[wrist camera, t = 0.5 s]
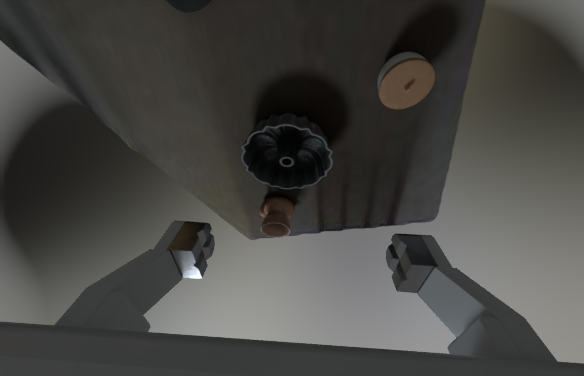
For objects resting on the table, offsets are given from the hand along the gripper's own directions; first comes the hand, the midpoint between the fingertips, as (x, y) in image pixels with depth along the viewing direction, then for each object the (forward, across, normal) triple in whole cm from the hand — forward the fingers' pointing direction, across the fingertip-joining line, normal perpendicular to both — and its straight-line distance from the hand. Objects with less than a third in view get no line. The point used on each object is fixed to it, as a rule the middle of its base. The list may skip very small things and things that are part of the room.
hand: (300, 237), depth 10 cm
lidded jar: (+52, -21, -1) cm, 56 cm away
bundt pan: (+59, +4, +21) cm, 63 cm away
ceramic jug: (+70, +9, +55) cm, 89 cm away
